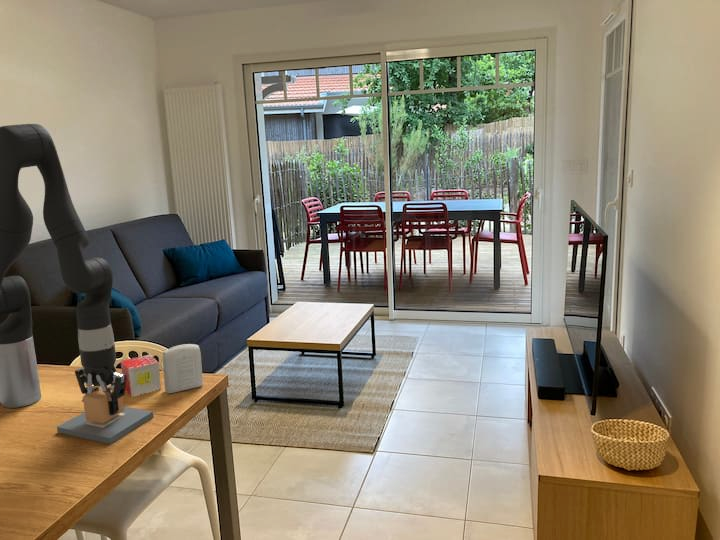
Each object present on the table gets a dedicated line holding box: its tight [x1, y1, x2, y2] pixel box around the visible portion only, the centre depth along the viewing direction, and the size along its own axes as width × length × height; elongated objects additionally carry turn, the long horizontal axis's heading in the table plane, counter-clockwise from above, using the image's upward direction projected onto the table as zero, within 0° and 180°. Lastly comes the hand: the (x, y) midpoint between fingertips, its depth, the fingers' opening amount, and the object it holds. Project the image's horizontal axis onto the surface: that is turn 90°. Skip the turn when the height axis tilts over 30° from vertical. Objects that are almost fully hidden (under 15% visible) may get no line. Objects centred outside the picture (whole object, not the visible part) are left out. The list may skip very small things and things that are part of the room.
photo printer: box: [162, 343, 204, 394], centre depth 160 cm, size 10×4×12 cm, turn 123°
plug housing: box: [82, 385, 125, 423], centre depth 139 cm, size 5×7×6 cm
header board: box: [56, 405, 154, 445], centre depth 140 cm, size 16×14×4 cm
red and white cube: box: [120, 354, 162, 398], centre depth 160 cm, size 8×8×8 cm
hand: (105, 411), depth 140 cm, fingers closed on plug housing, 4 cm apart
